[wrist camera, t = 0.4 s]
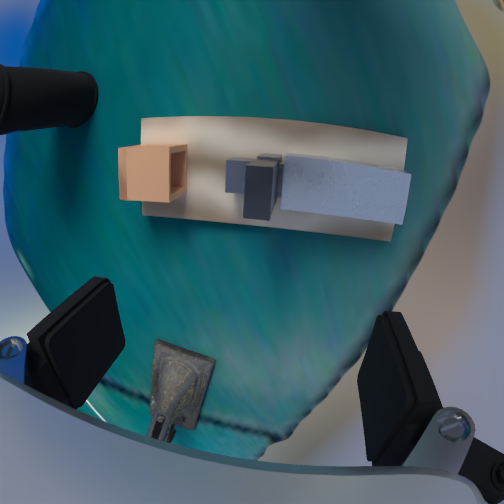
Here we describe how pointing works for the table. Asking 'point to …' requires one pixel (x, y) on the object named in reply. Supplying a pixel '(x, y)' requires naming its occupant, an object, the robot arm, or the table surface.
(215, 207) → the base board
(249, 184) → the grey bar
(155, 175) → the socket
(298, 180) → the pale blue rectangular box
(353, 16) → the table surface
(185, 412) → the embossing press
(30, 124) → the aerosol can
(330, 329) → the table surface
